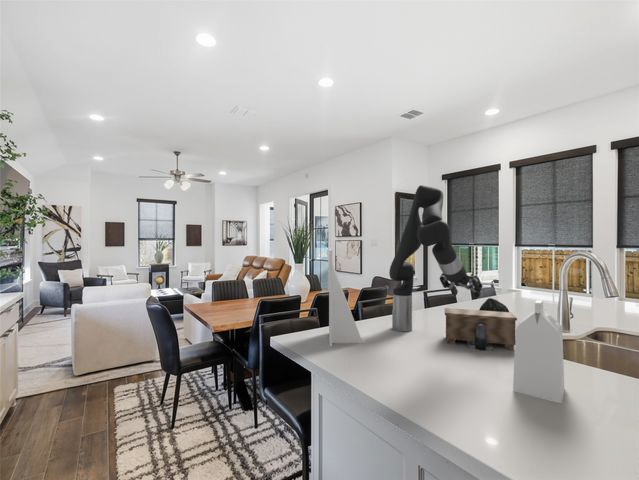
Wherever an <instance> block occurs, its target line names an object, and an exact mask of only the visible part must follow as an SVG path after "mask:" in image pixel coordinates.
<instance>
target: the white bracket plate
mask: <svg viewBox="0 0 639 480" xmlns="http://www.w3.org/2000/svg"><path fill="white" fill-rule="evenodd" d="M328 250H329V253H328V255H329V257H328V258H329V259H328V261H329V262H328V263H329V264H328V270H329V271H328V276H329V277H328V311H329V312H328V338H329V347H333V344H364V343H363V339H362V338H361V334H360V332H359V330H358V327H357V324H356V322H355V319H354V318H355V317H354V316H353V314H352V311H351V309H350V306H349V303H348V300H347V298H346V296H345V291H343V288H342V285H341V282H340V280H339V277H338V275H337V272H336V269H335V266H334V264H333V249H331V248H328Z"/></svg>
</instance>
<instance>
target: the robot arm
mask: <svg viewBox="0 0 639 480" xmlns="http://www.w3.org/2000/svg"><path fill="white" fill-rule="evenodd" d="M443 205H444V192H443V190H442V189H440V188H437V187H432V186H428V185H423V184H422V185H419V186H418V187H417V189H416V190H415V192H414V197H413V200H412V204H411V208H410V212H409V216H408V218H407V222H406V224H405V226H404V229H403V231H402V236H401V238H400V242H399V244H398V245H399V246H398V248H397V251H396V253H395V256H394V257H393V260H392V262H391V264H390V267H389V272H388V273H389V278H390V280H392V281H394V282H402V283H401V284H399V285H398V286H396V287H394V288H393V289H392V310H391V311H392V312H391V316H392V317H391V319H392V321H391V324H392V325H391V327H392V330H394V331H397V332H410V331H412V330H413V292H414V278H415V276H414V274H415V270H414V265H413V264H412V263H411V262H408V261H407V260H408V259H409V258H410V257H411V256H412V255H413V254H415V253H416V252H417V251H418V250H419V249H420V247H421V246H424V247H430V246H431V247H432V246H433V247H432V249H431V252H432V253H431V254H432V255H433V257H434V259H435V260H436V262H437V264H438V267H439V268H440V270H441V272H442V273H441V275H440V277H439V281H440V283H441V285H442V287H443V288H444V289H448V290H450V292H451V293H452V295H454V296H458V293H459V291H458V289H457V287H461V288H462V287H463V288H465V289H466V290H470V291H471V292H472V293H473V295H474V297H475V298H476V299H479V298H480V297H481V295H482V294H481V292H482V289H483V284H482V283H481V281H480V279H479V277H478V276H477V275H473V277H471V276H469V275H468V274H467V270H466V268H465V266H464V264H463V262H462V260H461V258H460V256H459V254H457V251H456V250H455V248H454V246H453V244H452V237H451V229H450V225H449V224H448V223H447V222H446V221H444V220H443V215H442V213H443V212H442V211H443ZM420 209H424V210H423V212H422V215H421V218H420V211H419V210H420Z"/></svg>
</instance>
